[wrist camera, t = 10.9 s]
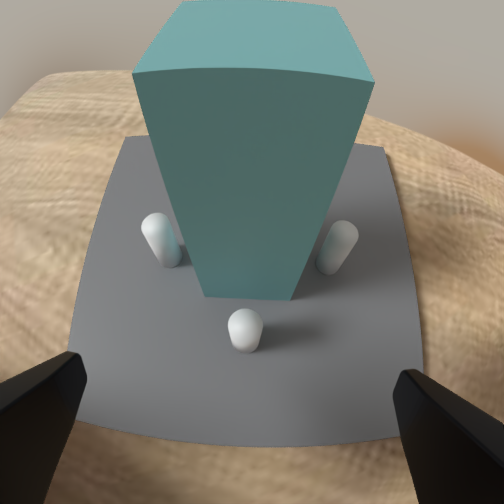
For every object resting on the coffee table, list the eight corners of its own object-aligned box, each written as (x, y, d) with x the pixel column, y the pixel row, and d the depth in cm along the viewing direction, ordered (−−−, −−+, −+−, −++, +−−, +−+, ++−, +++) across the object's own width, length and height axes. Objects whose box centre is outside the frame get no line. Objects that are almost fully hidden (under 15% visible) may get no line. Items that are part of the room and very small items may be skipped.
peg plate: (417, 430, 14) (460, 434, 10) (68, 415, 14) (24, 414, 10) (380, 154, 23) (398, 114, 19) (128, 143, 23) (113, 103, 19)
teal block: (289, 300, 17) (374, 82, 5) (204, 296, 17) (131, 73, 5) (289, 226, 18) (335, 7, 7) (212, 223, 18) (182, 1, 7)
